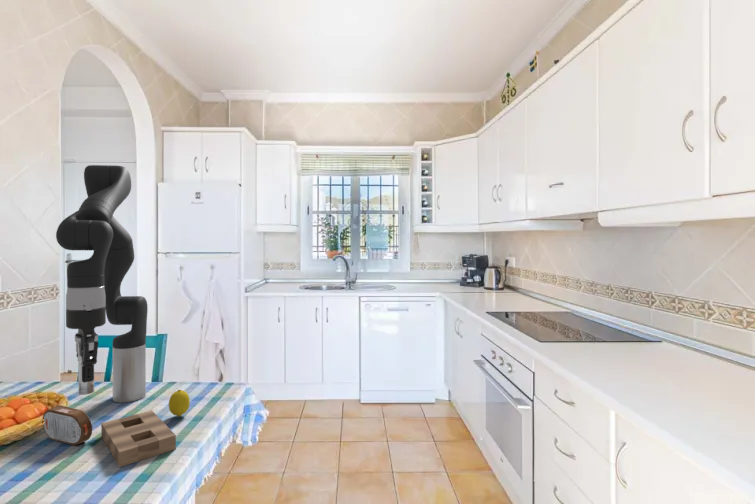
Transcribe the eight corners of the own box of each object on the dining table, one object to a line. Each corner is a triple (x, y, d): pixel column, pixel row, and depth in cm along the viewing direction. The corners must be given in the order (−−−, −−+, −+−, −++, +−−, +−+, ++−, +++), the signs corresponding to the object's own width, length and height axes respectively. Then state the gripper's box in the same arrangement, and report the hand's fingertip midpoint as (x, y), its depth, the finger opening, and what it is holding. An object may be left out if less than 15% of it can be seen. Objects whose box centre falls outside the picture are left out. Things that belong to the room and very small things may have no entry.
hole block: (101, 436, 106) (101, 423, 106) (151, 422, 115) (151, 410, 115) (119, 467, 92) (119, 452, 92) (175, 449, 100) (175, 435, 100)
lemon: (181, 421, 116) (181, 393, 115) (164, 419, 117) (164, 392, 116) (193, 413, 121) (193, 387, 121) (177, 411, 122) (177, 385, 122)
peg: (77, 392, 95) (77, 349, 95) (93, 389, 97) (92, 347, 97) (79, 395, 93) (79, 352, 92) (95, 392, 95) (95, 350, 94)
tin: (93, 443, 103) (93, 410, 103) (80, 449, 100) (80, 415, 100) (53, 433, 108) (52, 402, 107) (39, 439, 105) (39, 406, 104)
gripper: (61, 303, 97) (62, 375, 97) (70, 311, 87) (71, 391, 87) (99, 301, 102) (99, 369, 102) (111, 308, 92) (112, 383, 92)
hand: (86, 379), depth 95 cm, fingers closed on peg, 3 cm apart
